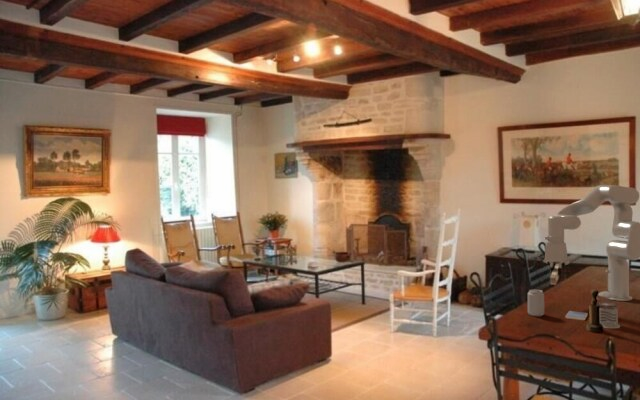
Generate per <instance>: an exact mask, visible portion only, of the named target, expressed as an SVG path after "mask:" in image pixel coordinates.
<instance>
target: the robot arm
mask: <svg viewBox="0 0 640 400" xmlns="http://www.w3.org/2000/svg"><path fill="white" fill-rule="evenodd" d="M639 199H640V192H639V191H638V190H637V189H636V188H634V187H628V186H622V185H618V184H617V185H615V184H598V185H596V186H595V187H594V188H592V189H591V190H590V191H589V192H588V193H587V194H586V195H585V196H583V197H582V198H581V199H580V200H577V201H575V202H572V203H571V204H568V205H567V206H565V207H562V208H561V210H559V211H558V212H557V213H556V214H555V215H550V216H548V219H547V231H548V232H547V236H545V237H544V238H545V240H547V241H546V244H545V249H544V250H545V251H544V253H545V254H544V258H543V260H542V261H543V263H545V264H547V265H548V266H549V267H550V274H552V272H553V270H554V268H555V263H558V264H559V268H558V276H559V277H560V276H561V274H562V272H563V271H562V270H563V267H564V266H566V265H569V264H570V260H569V258H568V249H567V243H566V242H565V230H569V231H570V230H572V231H575V230H577V229H579V228H580V226H581V224H582V221H581V219H580V218H579V216H583V215H587V214H591V213H594V212H595V210H597V209H598V208H599V207H600V206H601V205H603V204H604V203H605V202H609V203H610V205H611V206H612V207H613V212H614V215H613V222H612V231H611V233H612V235H613V236H614V237H616V238H621V239H626V240H627V241H626V240H620V239H615V240H610V241H609V242H608V243H607V244H606V248H605V249H606V256H607V263H608V266H607V267H608V269H607V270H609V271H610V273H607V291H609V292H613V293H615V294H617V295H618V297H617V298H606V299H607V300H612V301H620V302H629V301H632V300H633V297H632V296H631V295H630V290H629V289H630V288H629V287H630V284H629V283H630V273H629V271H630V266H629V263H628V261H637V260H639V259H640V222H638V221H633V213H634V212H633V208H632V207H631V205H633V204H636V203H637V202H638V201H639Z"/></svg>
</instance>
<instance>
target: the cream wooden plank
mask: <svg viewBox="0 0 640 400" xmlns="http://www.w3.org/2000/svg"><path fill="white" fill-rule="evenodd" d="M554 267H555V268H554V270H553V272H552V273H550V276H549V281H550V282H549V283H550V285H553V286H555V285H557V283H558V281H559V277H560V276H558V268H559V263H555V264H554Z"/></svg>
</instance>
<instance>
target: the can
mask: <svg viewBox="0 0 640 400" xmlns="http://www.w3.org/2000/svg"><path fill="white" fill-rule="evenodd" d="M527 314H528V315H529V316H532V317H542V316H543V315H545V293H544V292H543V290H542V289H529V290H528V292H527Z"/></svg>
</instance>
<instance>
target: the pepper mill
mask: <svg viewBox="0 0 640 400" xmlns="http://www.w3.org/2000/svg"><path fill="white" fill-rule="evenodd" d="M598 293H599V290H598V289H595V288H593V289H591V290H590V295H591V297H592V298H591V301H592V304H591V303H590V304H589V305H588V306H589V307H588V308H589V309H588V311H589V312H588V313H589V314H588V315H589V317H588V319H589V320H588V321H589V322H588V323H586V327H585V330H586V331H588V332H591V333H603V332H604V328H603V325H602V324H600V305H599V304H597V303H598ZM596 297H597V298H596Z"/></svg>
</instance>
